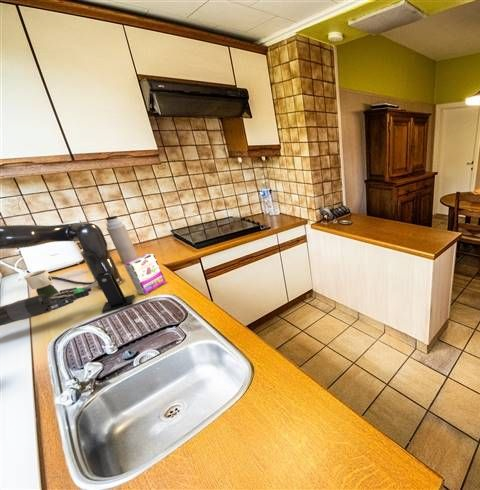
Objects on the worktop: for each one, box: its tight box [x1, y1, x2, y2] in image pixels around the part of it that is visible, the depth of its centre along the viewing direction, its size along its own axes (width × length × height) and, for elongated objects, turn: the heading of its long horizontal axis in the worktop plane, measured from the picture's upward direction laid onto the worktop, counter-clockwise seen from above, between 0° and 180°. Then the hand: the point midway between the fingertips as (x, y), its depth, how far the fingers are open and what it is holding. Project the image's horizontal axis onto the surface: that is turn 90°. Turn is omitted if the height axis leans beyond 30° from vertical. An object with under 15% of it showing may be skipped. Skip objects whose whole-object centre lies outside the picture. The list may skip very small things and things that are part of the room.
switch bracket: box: [96, 270, 135, 314], centre depth 115 cm, size 10×8×16 cm
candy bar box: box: [123, 253, 167, 295], centre depth 127 cm, size 11×5×16 cm, turn 168°
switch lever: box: [73, 273, 112, 295], centre depth 111 cm, size 13×4×4 cm, turn 124°
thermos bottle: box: [105, 215, 139, 264], centre depth 158 cm, size 8×8×28 cm
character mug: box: [23, 269, 60, 297], centre depth 125 cm, size 11×7×13 cm, turn 63°
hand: (89, 290), depth 111 cm, fingers closed on switch lever, 3 cm apart
